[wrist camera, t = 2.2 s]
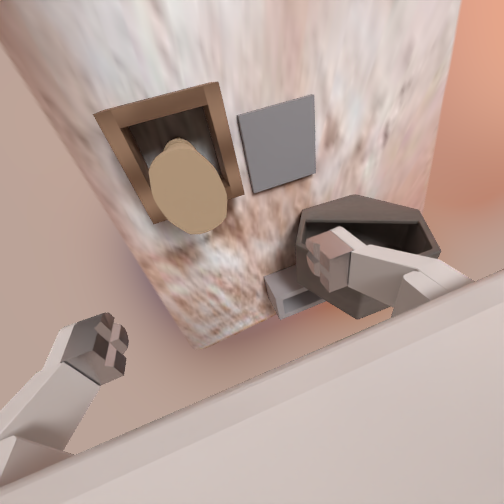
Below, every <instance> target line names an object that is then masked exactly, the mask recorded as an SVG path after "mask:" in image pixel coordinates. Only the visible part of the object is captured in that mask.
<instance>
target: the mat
mask: <svg viewBox="0 0 504 504" xmlns="http://www.w3.org/2000/svg"><path fill="white" fill-rule="evenodd" d="M237 119H238V123H239V128H240V133H241V138H242V143H243V147H244V152H245V157H246V162H247V167H248V171H249V176H250V181H251V186H252V191H253V192H254V193H257V192H260V191H263V190H266V189H269V188H272V187H275V186H278V185H281V184H284V183H287V182H290V181H293V180H296V179H299V178H302V177H305V176H308V175H311V174H314V173H316V158H315V110H314V95H308V96H304V97H300V98H297V99H293V100H290V101H286V102H283V103H279V104H276V105H272V106H269V107H265V108H262V109H258V110H255V111H251V112H247V113H244V114H240V115H237Z"/></svg>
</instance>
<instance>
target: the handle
mask: <svg viewBox="0 0 504 504" xmlns="http://www.w3.org/2000/svg"><path fill="white" fill-rule="evenodd" d="M149 178H150V185H151V191H152V195H153V198H154V200H155V202H156V204H157V205H158V207H159V208H160V210H161V211H162V213H163V214H164V215H165V217H166V218H167V219H168V220H169V221H170V222H171V223H172V224H174V225H175V226H177V227H178V228H180V229H182V230H183V231H185V232H187V233H189V234H202V233H205V232H208V231H210V230H212V229H214V228H216V227H217V226H219V225H220V224H221V223H222V222H223V221H224V219H225V218H226V216H227V194H226V191H225V188H224V186H223V183H222V181H221V179H220V177H219V175H218V173H217V171H216V169H215V168H214V166H213V165H212V164H211V163H210V162H209V161H208V160H207V159H206V158H205V157H204V156H202V155H201V154H200V153H199V152H198V151H197V150H196V149H195V147H194V146H193V145H192V144H191V143H189V142H188V141H186V140H184V139H182V138H181V137H177V138H176V139H173V140H171V141H168V142H167V144H166V146H165V148H164V151H163V152H162V153H160V154H159V155H158V156H157V157H156V158H155V159H154V161H153V162H152V164H151V166H150V168H149Z"/></svg>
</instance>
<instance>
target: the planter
mask: <svg viewBox="0 0 504 504" xmlns="http://www.w3.org/2000/svg"><path fill="white" fill-rule="evenodd" d="M339 226H340V227H343V228H344V229H345V230H347V231H348V232H349V233H351V234H352V235H353V236H355V237H356V238H357V239H359V240H360V241H361V242H363V243H364V244H365V245H375V246H379V247H384V248H389V249H393V250H398V251H402V252H407V253H412V254H416V255H421V256H425V257H430V258H435V259H438V257H439V255H440V253H441V249H440V248H439V246H438V244H437V242H436V240H435V238H434V236H433V235H432V233H431V231H430V229H429V227H428V225H427V224H426V222H425V220H424V218H423V216H422V214H421V213H420V211H419V210H417V209H413V208H409V207H405V206H401V205H397V204H393V203H389V202H385V201H381V200H376V199H372V198H368V197H364V196H360V195H350V196H347V197H343V198H340V199H337V200H333V201H330V202H327V203H323V204H320V205H317V206H313V207H310V208H307V209H304V210H302V214H301V219H300V224H299V229H298V234H297V238H296V243H295V250H296V277H297V283H298V284H300V285H301V286H303V287H305V288H306V289H308V290H310V291H311V292H313V293H314V294H316V295H318V296H319V297H321V298H323V299H324V300H326V301H327V302H329V303H331V304H332V305H334V306H336V307H337V308H339V309H341V310H342V311H344V312H345V313H347V314H349V315H350V316H352V317H354V318H355V319H360V318H363V317H366V316H368V315H371V314H373V313H376V312H378V311H381V310H383V309H386V308H388V307H391V306H389V305H387V304H385V303H383V302H380V301H378V300H376V299H374V298H372V297H370V296H367V295H365V294H363V293H361V292H359V291H356V290H354V289H352V288H350V287H348V286H346V287H343V288H341V289H338V290H335V291H332V292H330V293H329V292H328V291H327V289H326V288H325V287H324V286H323V285H322V283H321V282H320V277H319V276H316V275H314V274H313V272H312V271H311V269H310V268H309V265H308V262H307V253H308V251H309V250H308V249H307V248H306V239H308V238H310V237H313V236H316V235H318V234H321V233H324V232H326V231H328V230H331V229H333V228H336V227H339Z"/></svg>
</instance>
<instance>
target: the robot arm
mask: <svg viewBox="0 0 504 504" xmlns="http://www.w3.org/2000/svg"><path fill="white" fill-rule="evenodd" d="M306 248H307V249H308V250H309V251H308V253H307V262H308V265H309V268H310V269H311V271H312V272H313V274H314V275H316V276H319V277H320V282H321V283H322V285H323V286H324V287H325V288H326V289H327V291H328V292H329V293H330V292H332V291H335V290H338V289H341V288H343V287H346V286H348V287H350V288H352V289H354V290H356V291H359V292H361V293H363V294H365V295H367V296H370V297H372V298H374V299H376V300H378V301H380V302H383V303H385V304H387V305H389V306H391V307H394V309H393V312H392V316H391V318H390V319H387V320H385V321H383V322H381V323H378V324H376V325H373V326H371V327H369V328H367V329H365V330H362V331H360V332H358V333H355V334H353V335H350V336H348V337H346V338H344V339H341V340H339V341H337V342H334V343H332V344H330V345H328V346H325V347H323V348H320V349H318V350H316V351H314V352H311V353H309V354H307V355H304V356H302V357H300V358H297V359H295V360H293V361H290V362H288V363H286V364H284V365H281V366H279V367H277V368H274V369H272V370H270V371H267V372H265V373H263V374H260V375H258V376H256V377H254V378H252V379H249V380H247V381H244V382H242V383H240V384H238V385H235V386H233V387H231V388H228V389H226V390H224V391H221V392H219V393H217V394H215V395H212V396H210V397H208V398H205V399H203V400H201V401H198V402H196V403H194V404H192V405H189V406H187V407H185V408H182V409H180V410H178V411H176V412H173V413H171V414H169V415H166V416H164V417H162V418H160V419H157V420H155V421H152V422H150V423H148V424H145V425H143V426H141V427H139V428H136V429H134V430H132V431H129V432H127V433H125V434H122V435H120V436H118V437H116V438H113V439H111V440H109V441H106V442H104V443H102V444H99V445H97V446H95V447H92V448H91V449H88V450H86V451H84V452H81V453H79V454H76V455H74V454H71V453H68V452H65V451H63V450H64V448H65V446H66V445H67V443H68V441H69V440H70V438H71V436H72V435H73V433H74V431H75V429H76V428H77V426H78V424H79V423H80V421H81V419H82V418H83V416H84V414H85V412H86V411H87V409H88V407H89V406H90V404H91V402H92V401H93V399H94V397H95V396H96V394H97V392H98V390H99V389H100V386H101V385H103V384H105V383H107V382H110V381H112V380H114V379H117V378H119V377H121V376H124V371H125V365H126V357H125V356H124V355H123V354H124V352H125V351H126V350H127V348H128V342H129V340H128V335H127V332H126V330H125V328H124V327H123V326H122V325H120V324H117V323H114V317H113V316H112V315H111V314H110V313H103V314H100V315H97V316H94V317H91V318H88V319H85V320H82V321H79V322H77V323H74V324H71V325H68V326H66V327H63V328H62V329H61V330H60V331H59V333H58V336H57V338H56V340H55V342H54V345H53V347H52V349H51V351H50V353H49V356H48V358H47V360H46V363H45V365H44V367H43V369H42V371H40V372H37V373H36V374H35V375H34V376H33V377H32V378H31V379H30V380H29V381H28V382H27V383H26V385H24V387H23V388H22V389H21V390H20V391H19V392H18V393H17V394H16V395H15V396H14V397H13V398H12V399H11V400H10V401H9V402H8V403H7V404H6V405H5V407H3V409H2V410H1V411H0V504H504V269H502V270H500V271H498V272H496V273H493V274H491V275H489V276H486V277H484V278H482V279H480V280H477V281H473V280H472V279H470V278H469V277H467V276H465V275H464V274H462V273H460V272H459V271H457V270H456V269H454V268H452V267H451V266H449V265H447V264H446V263H444V262H443V261H441V260H439V259H435V258H430V257H425V256H421V255H416V254H412V253H407V252H402V251H398V250H393V249H389V248H384V247H379V246H375V245H365V244H364V243H363V242H361V241H360V240H359V239H357V238H356V237H355V236H353V235H352V234H351V233H349V232H348V231H347V230H345V229H344V228H343V227H340V226H339V227H336V228H333V229H331V230H328V231H326V232H324V233H321V234H318V235H316V236H313V237H310V238H308V239H306Z"/></svg>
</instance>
